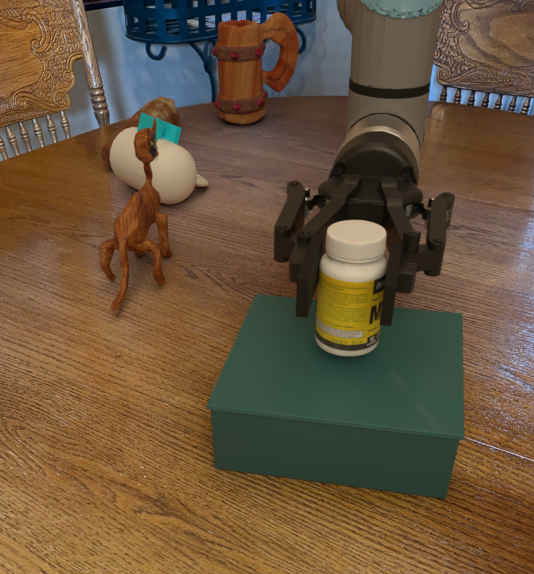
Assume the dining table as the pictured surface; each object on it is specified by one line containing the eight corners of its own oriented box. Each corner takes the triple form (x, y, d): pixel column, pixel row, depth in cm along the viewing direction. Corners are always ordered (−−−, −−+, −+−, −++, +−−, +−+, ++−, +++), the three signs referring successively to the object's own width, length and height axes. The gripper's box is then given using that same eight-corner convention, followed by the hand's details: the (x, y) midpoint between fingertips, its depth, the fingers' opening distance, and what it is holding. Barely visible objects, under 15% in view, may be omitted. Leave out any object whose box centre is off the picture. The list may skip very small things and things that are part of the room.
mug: (223, 131, 114) (218, 22, 104) (207, 117, 119) (201, 13, 109) (305, 121, 118) (308, 16, 108) (286, 108, 123) (287, 7, 113)
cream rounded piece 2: (170, 126, 82) (119, 104, 89) (151, 205, 86) (104, 178, 93) (244, 150, 90) (192, 128, 97) (224, 220, 94) (176, 195, 101)
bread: (183, 135, 112) (180, 97, 108) (128, 175, 99) (123, 133, 95) (147, 131, 113) (143, 93, 110) (89, 170, 100) (82, 128, 96)
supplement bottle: (376, 361, 50) (390, 248, 44) (311, 355, 50) (316, 243, 45) (380, 327, 53) (393, 219, 48) (319, 322, 54) (325, 214, 48)
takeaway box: (450, 374, 61) (463, 313, 57) (449, 501, 50) (465, 436, 45) (255, 353, 64) (255, 293, 60) (210, 470, 52) (205, 404, 48)
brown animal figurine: (147, 324, 68) (129, 180, 59) (82, 320, 68) (53, 176, 59) (187, 246, 81) (177, 118, 72) (132, 243, 82) (115, 116, 73)
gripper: (470, 225, 62) (476, 368, 45) (275, 210, 65) (211, 339, 48) (488, 135, 57) (503, 258, 40) (275, 122, 60) (204, 232, 43)
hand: (344, 301), depth 44 cm, fingers closed on supplement bottle, 5 cm apart
